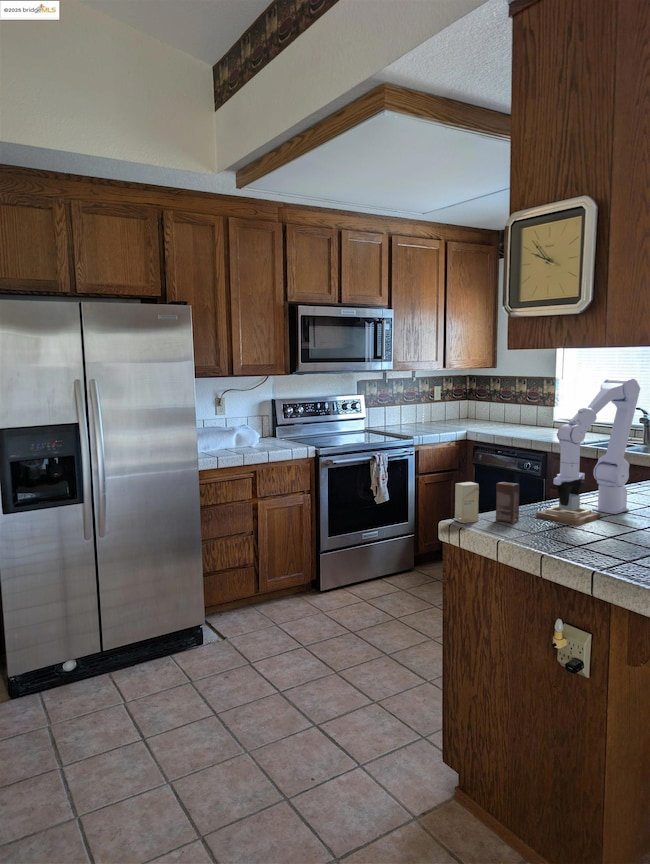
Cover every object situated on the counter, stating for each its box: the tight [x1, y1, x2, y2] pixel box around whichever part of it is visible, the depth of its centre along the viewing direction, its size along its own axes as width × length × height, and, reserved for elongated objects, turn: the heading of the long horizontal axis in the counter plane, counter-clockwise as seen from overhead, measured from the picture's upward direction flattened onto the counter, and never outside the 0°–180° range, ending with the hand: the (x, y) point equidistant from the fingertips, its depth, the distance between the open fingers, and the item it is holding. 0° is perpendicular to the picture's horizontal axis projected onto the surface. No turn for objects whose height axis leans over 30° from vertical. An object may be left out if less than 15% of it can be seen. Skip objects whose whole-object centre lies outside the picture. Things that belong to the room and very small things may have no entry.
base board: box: [535, 505, 602, 526], centre depth 196 cm, size 14×14×2 cm
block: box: [558, 493, 581, 511], centre depth 195 cm, size 4×4×4 cm
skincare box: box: [454, 481, 480, 524], centre depth 193 cm, size 6×4×12 cm
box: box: [495, 481, 520, 524], centre depth 193 cm, size 6×4×12 cm
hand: (568, 503), depth 196 cm, fingers closed on block, 4 cm apart
